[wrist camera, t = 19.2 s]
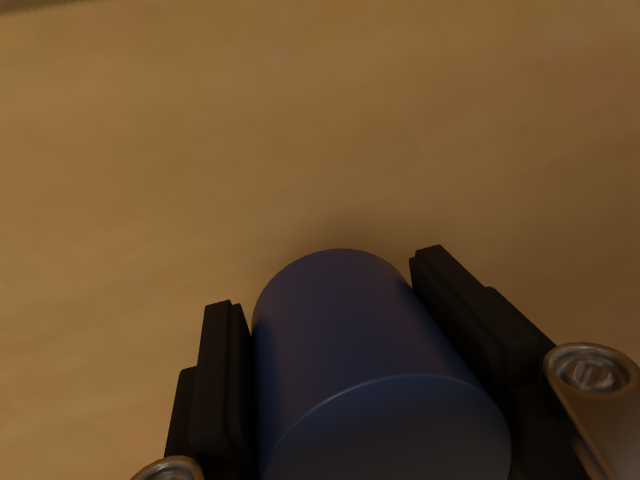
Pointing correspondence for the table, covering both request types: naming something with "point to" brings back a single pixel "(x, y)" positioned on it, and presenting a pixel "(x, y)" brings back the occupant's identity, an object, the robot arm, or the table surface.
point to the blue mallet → (365, 381)
